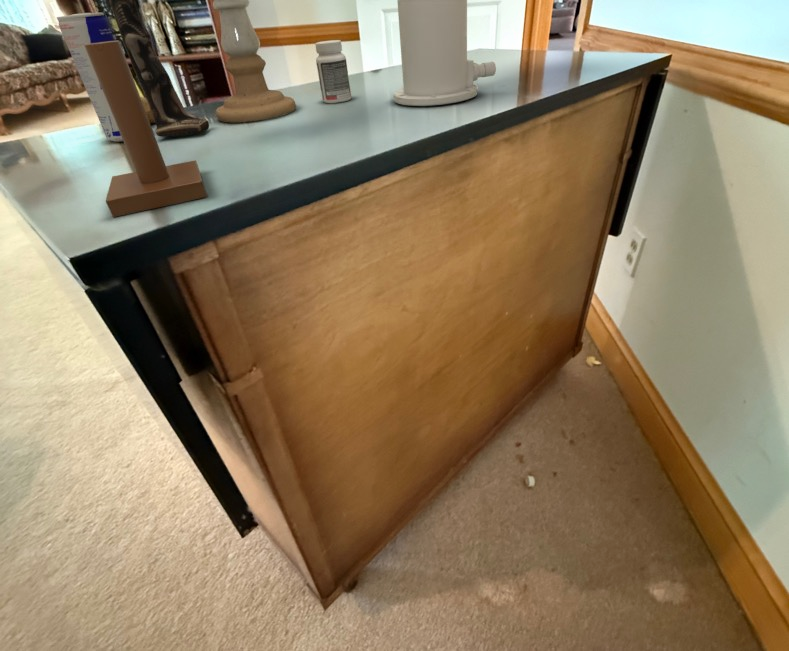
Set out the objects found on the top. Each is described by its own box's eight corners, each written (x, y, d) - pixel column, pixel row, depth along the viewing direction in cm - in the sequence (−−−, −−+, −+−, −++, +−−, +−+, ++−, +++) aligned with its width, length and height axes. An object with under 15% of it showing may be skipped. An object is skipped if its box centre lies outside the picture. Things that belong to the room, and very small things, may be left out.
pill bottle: (357, 98, 77) (349, 39, 72) (334, 104, 74) (325, 43, 69) (339, 96, 80) (331, 39, 75) (317, 102, 77) (307, 43, 72)
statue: (204, 136, 64) (146, -51, 52) (152, 142, 63) (82, -44, 52) (211, 129, 67) (158, -48, 55) (162, 134, 67) (98, -42, 55)
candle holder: (243, 106, 80) (205, -43, 68) (309, 104, 76) (280, -54, 65) (201, 124, 70) (149, -45, 59) (273, 122, 67) (233, -58, 55)
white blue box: (133, 142, 64) (81, 12, 56) (99, 143, 66) (43, 17, 57) (157, 132, 69) (113, 10, 60) (125, 133, 70) (77, 14, 61)
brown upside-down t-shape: (200, 174, 49) (154, 34, 41) (207, 197, 43) (154, 37, 35) (118, 191, 47) (54, 46, 39) (113, 217, 40) (35, 52, 33)
